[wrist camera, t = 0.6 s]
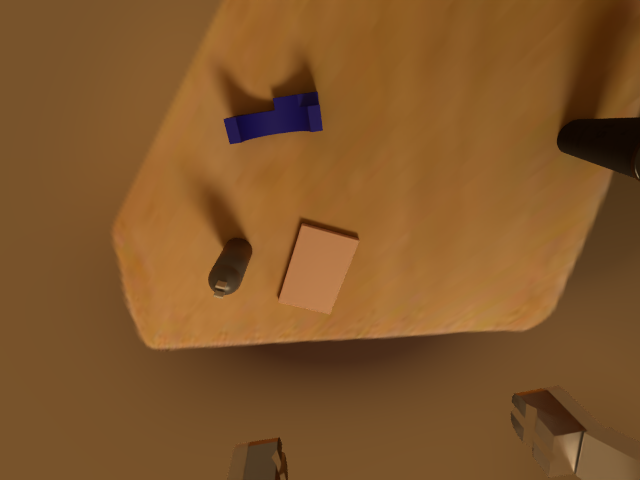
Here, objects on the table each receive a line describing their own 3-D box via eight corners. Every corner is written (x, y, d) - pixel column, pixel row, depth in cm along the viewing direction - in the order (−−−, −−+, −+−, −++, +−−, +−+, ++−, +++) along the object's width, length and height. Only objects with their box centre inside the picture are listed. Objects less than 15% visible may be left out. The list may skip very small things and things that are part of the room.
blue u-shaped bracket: (316, 91, 42) (317, 91, 36) (321, 126, 44) (322, 130, 38) (231, 104, 42) (220, 106, 37) (239, 138, 44) (229, 144, 39)
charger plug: (227, 234, 50) (204, 274, 39) (254, 242, 51) (239, 282, 40) (222, 258, 52) (199, 301, 41) (249, 264, 53) (232, 309, 42)
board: (302, 222, 50) (301, 225, 49) (358, 238, 51) (359, 240, 50) (278, 298, 56) (278, 302, 55) (329, 310, 58) (329, 314, 57)
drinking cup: (612, 118, 44) (820, 133, 26) (578, 168, 47) (744, 213, 29) (568, 101, 43) (755, 104, 25) (537, 153, 46) (682, 191, 28)
